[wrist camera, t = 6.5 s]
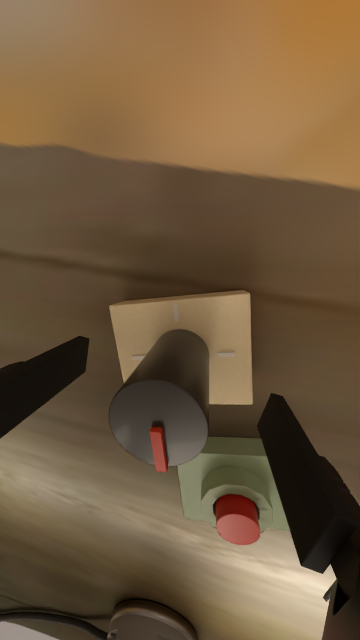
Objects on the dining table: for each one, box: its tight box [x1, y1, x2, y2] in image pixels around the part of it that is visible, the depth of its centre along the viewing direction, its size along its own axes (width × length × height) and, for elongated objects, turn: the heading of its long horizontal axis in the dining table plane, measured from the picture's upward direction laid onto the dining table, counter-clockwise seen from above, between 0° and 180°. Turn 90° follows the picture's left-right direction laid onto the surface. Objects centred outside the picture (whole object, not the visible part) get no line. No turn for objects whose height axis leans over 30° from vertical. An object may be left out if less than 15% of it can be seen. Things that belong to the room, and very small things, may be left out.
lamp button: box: [216, 494, 260, 545], centre depth 18 cm, size 4×4×2 cm
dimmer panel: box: [109, 290, 253, 405], centre depth 18 cm, size 12×10×3 cm
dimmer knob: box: [109, 329, 209, 472], centre depth 13 cm, size 5×5×8 cm
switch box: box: [177, 437, 290, 533], centre depth 21 cm, size 12×10×4 cm
